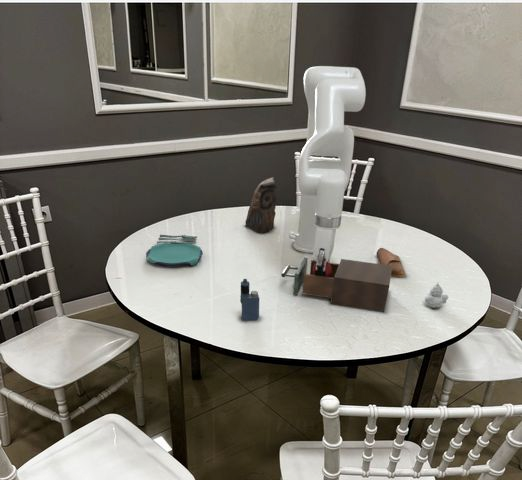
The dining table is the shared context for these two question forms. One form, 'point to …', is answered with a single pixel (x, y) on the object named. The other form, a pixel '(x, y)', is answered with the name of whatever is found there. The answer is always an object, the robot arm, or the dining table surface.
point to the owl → (262, 207)
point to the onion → (328, 269)
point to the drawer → (311, 280)
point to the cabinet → (361, 285)
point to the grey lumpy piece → (436, 297)
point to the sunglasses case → (391, 262)
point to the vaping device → (249, 302)
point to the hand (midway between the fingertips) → (321, 277)
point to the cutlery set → (175, 251)
